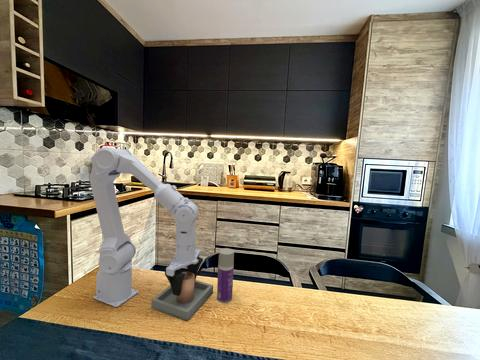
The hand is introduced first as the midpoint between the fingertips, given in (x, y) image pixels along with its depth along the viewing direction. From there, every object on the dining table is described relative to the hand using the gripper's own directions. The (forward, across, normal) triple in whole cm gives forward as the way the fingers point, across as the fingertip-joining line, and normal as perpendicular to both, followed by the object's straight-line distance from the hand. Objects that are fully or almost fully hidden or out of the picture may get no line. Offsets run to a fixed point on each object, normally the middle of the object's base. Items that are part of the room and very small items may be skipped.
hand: (184, 287), depth 67 cm
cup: (+3, 0, 0) cm, 3 cm away
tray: (+4, 0, 0) cm, 4 cm away
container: (+4, +6, -10) cm, 13 cm away
